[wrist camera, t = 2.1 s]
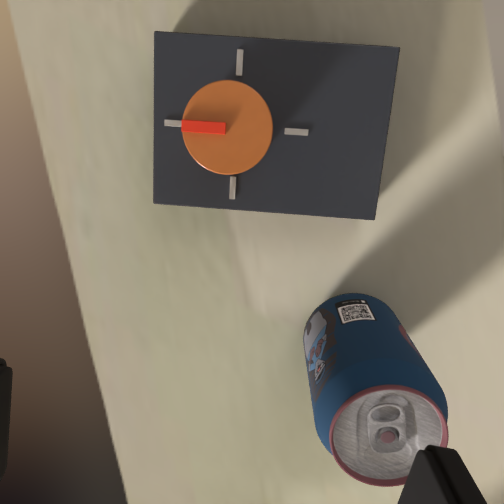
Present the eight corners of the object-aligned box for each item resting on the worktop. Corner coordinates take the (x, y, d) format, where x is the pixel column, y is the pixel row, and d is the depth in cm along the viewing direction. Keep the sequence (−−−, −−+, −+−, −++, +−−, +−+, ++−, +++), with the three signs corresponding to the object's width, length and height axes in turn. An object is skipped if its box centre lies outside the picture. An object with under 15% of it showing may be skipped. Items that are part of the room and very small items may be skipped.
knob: (275, 91, 26) (276, 82, 20) (270, 167, 27) (269, 178, 22) (200, 86, 26) (181, 76, 21) (198, 162, 27) (179, 172, 22)
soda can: (398, 366, 34) (462, 492, 22) (307, 375, 34) (324, 502, 23) (393, 281, 32) (461, 369, 21) (297, 292, 33) (310, 384, 21)
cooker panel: (387, 54, 28) (401, 46, 25) (365, 211, 31) (375, 221, 28) (166, 40, 28) (153, 29, 25) (164, 196, 31) (152, 204, 28)
